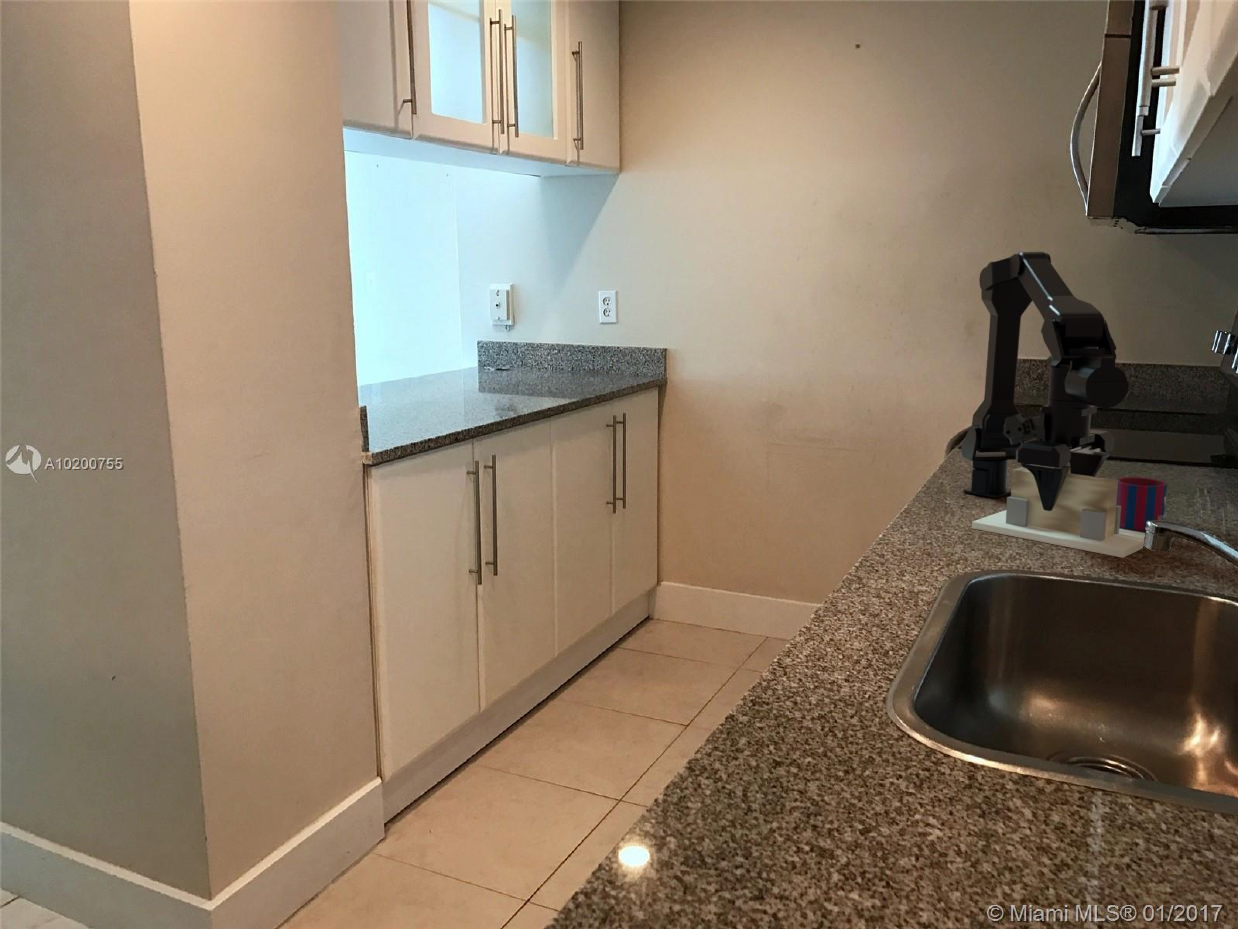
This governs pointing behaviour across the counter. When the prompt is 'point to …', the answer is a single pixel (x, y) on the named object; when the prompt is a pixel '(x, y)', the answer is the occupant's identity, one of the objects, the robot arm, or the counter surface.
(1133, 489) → the mug
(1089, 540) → the white slotted rack
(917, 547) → the counter surface
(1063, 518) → the wooden block
